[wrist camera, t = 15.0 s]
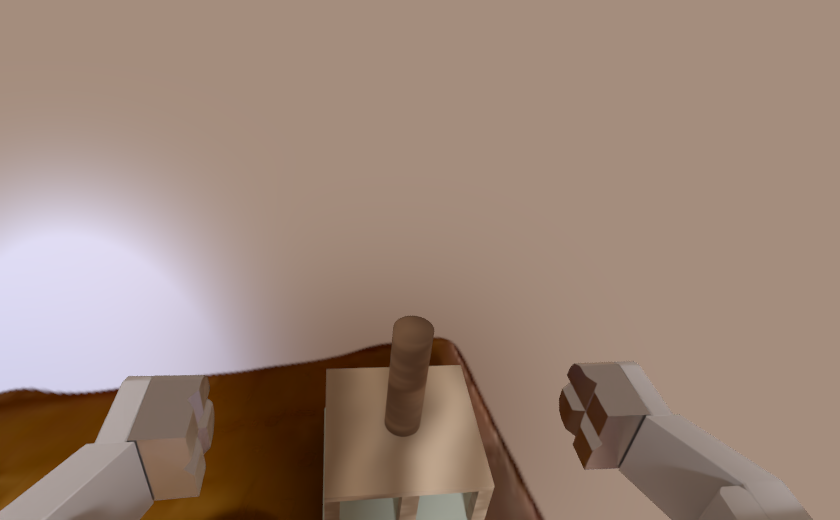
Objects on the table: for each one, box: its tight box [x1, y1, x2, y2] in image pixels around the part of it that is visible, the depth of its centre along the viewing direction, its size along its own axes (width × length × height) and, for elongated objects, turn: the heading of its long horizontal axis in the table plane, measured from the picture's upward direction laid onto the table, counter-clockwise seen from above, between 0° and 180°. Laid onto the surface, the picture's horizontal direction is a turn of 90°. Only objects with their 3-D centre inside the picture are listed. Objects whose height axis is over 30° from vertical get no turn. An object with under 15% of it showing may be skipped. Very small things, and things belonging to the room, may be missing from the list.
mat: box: [323, 408, 472, 520], centre depth 49 cm, size 14×14×1 cm
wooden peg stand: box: [324, 316, 494, 520], centre depth 45 cm, size 14×14×17 cm
